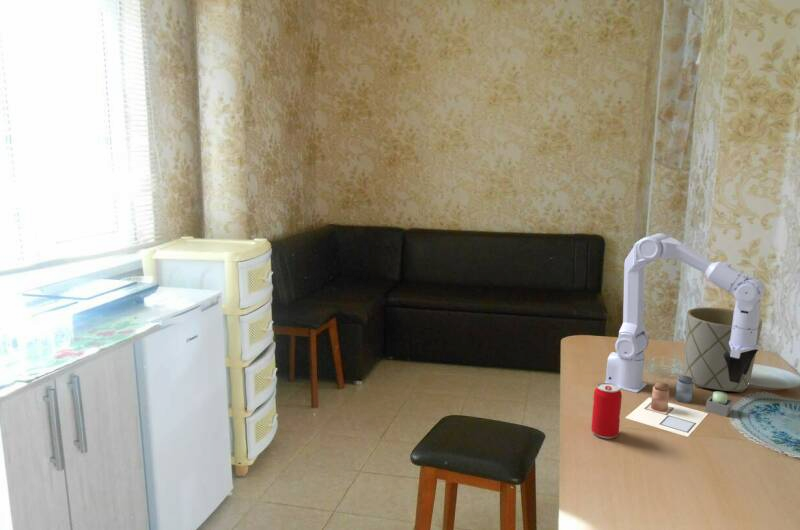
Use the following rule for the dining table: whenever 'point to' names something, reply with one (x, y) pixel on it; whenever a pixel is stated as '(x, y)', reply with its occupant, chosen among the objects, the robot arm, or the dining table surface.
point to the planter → (712, 349)
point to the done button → (720, 398)
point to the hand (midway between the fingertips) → (738, 377)
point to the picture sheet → (668, 417)
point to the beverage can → (606, 410)
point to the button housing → (718, 407)
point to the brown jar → (660, 397)
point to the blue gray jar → (684, 389)
